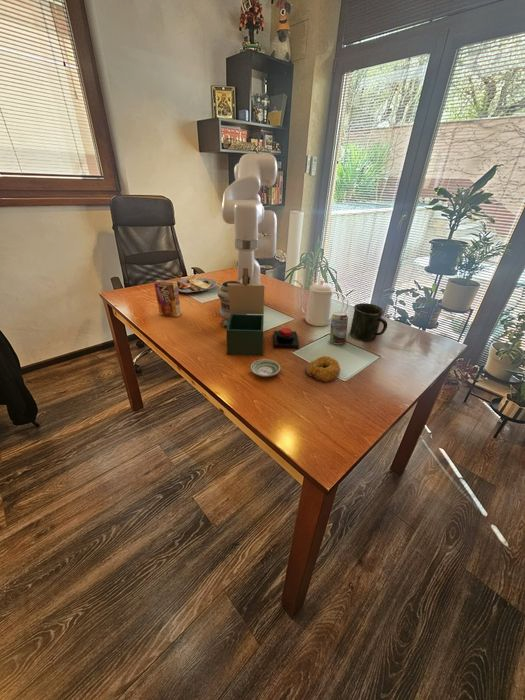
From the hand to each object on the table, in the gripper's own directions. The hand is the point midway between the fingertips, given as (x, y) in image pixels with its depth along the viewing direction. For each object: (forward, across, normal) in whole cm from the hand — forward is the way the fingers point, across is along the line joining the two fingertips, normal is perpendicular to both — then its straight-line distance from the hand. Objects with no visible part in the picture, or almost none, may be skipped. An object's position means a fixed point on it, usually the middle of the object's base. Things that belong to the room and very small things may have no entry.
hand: (246, 297), depth 105 cm
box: (+17, +5, 0) cm, 18 cm away
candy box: (+17, -22, -36) cm, 46 cm away
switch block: (+17, +1, +15) cm, 23 cm away
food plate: (+17, -59, -34) cm, 70 cm away
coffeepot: (+18, -18, +30) cm, 39 cm away
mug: (+18, -4, +48) cm, 51 cm away
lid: (+1, +2, 0) cm, 2 cm away
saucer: (+18, +22, +7) cm, 30 cm away
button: (+14, +1, +15) cm, 21 cm away
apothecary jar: (+18, -13, -7) cm, 23 cm away
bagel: (+18, +22, +26) cm, 38 cm away
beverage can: (+18, 0, +35) cm, 39 cm away
